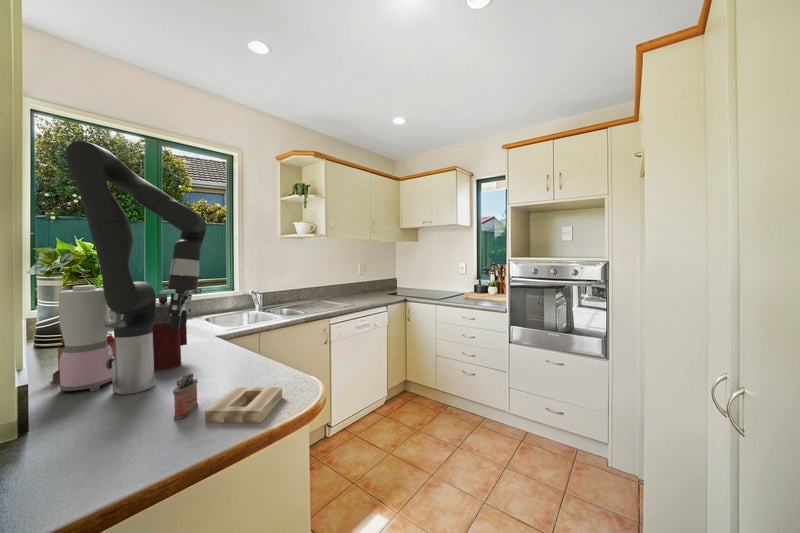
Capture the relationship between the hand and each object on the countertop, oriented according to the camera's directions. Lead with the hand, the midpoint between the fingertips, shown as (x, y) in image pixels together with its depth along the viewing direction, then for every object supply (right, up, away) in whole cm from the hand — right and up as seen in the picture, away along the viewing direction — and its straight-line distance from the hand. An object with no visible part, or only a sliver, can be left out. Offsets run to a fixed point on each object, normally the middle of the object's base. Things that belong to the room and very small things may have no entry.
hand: (178, 327), depth 98 cm
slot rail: (+26, -20, -11) cm, 35 cm away
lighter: (+11, -20, -13) cm, 26 cm away
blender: (-30, -20, +5) cm, 36 cm away
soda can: (-43, -19, +22) cm, 51 cm away
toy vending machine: (-20, -19, +23) cm, 36 cm away
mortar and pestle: (-45, -19, +11) cm, 50 cm away
